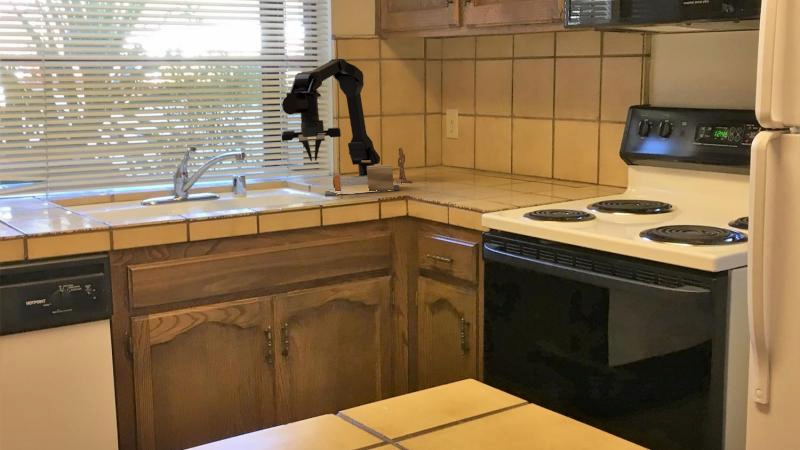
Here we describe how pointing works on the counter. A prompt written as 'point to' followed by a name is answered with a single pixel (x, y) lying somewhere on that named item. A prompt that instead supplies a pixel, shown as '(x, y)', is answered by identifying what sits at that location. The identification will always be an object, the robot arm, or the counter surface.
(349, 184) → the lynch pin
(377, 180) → the hitch block
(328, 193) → the mat
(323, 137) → the robot arm
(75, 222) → the counter surface
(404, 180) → the brown figurine
